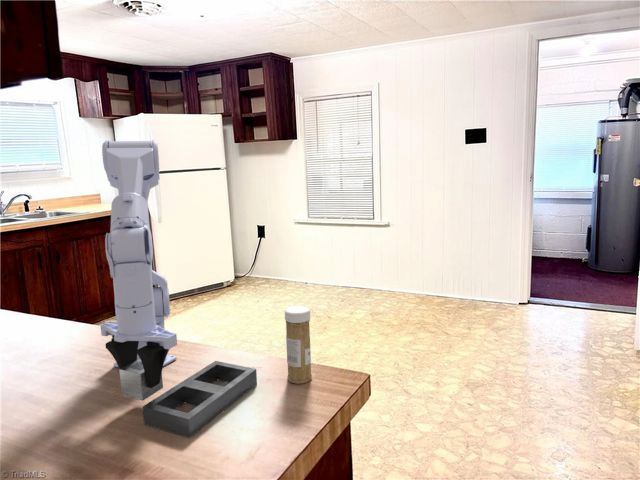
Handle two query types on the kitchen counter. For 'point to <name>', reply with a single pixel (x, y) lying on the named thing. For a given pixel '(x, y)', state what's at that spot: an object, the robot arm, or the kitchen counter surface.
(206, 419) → the grey rectangular tray
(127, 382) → the gray block
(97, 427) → the kitchen counter surface
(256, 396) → the kitchen counter surface
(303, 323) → the sprinkles bottle
